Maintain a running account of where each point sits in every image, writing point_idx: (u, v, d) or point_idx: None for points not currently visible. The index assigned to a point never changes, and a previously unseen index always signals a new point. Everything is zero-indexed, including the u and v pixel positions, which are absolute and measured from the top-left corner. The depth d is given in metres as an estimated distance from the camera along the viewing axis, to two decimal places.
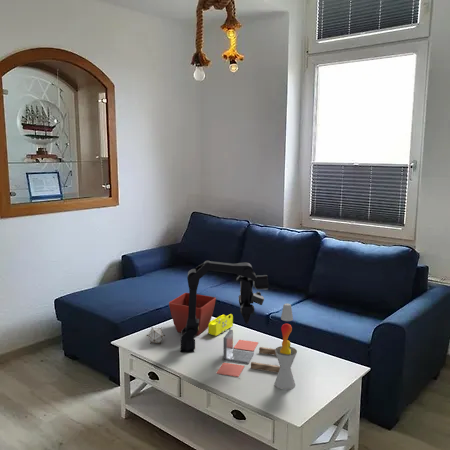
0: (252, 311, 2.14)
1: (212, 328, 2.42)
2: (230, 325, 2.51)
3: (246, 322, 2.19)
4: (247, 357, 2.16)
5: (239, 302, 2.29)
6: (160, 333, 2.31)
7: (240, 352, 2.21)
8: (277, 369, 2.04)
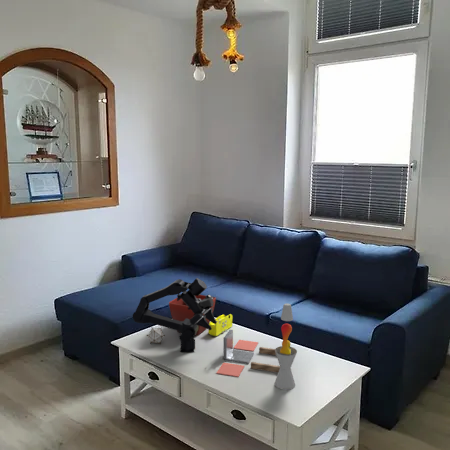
0: (198, 318, 2.11)
1: (212, 328, 2.41)
2: (230, 325, 2.51)
3: (209, 328, 2.16)
4: (247, 357, 2.16)
5: (203, 315, 2.26)
6: (160, 333, 2.31)
7: (240, 352, 2.21)
8: (277, 369, 2.04)
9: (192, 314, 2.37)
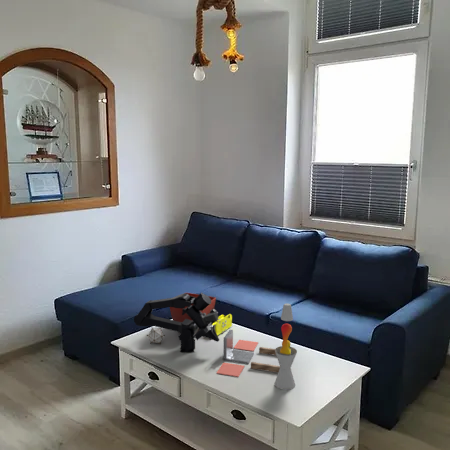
0: (203, 333, 2.11)
1: None
2: (229, 325, 2.51)
3: (216, 340, 2.20)
4: (247, 357, 2.16)
5: None
6: (160, 333, 2.31)
7: (240, 352, 2.21)
8: (277, 369, 2.04)
9: None
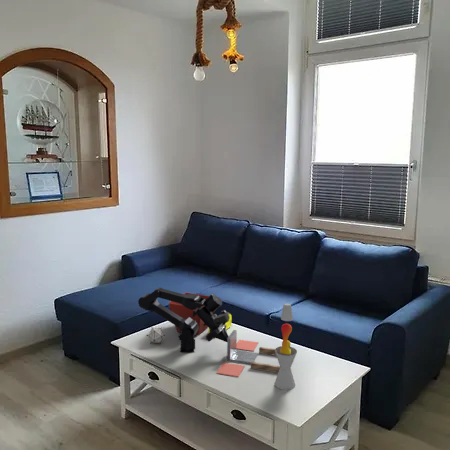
0: (215, 334, 2.10)
1: None
2: (229, 325, 2.52)
3: None
4: (251, 357, 2.15)
5: None
6: (160, 333, 2.31)
7: (244, 352, 2.21)
8: (277, 369, 2.04)
9: (192, 314, 2.37)
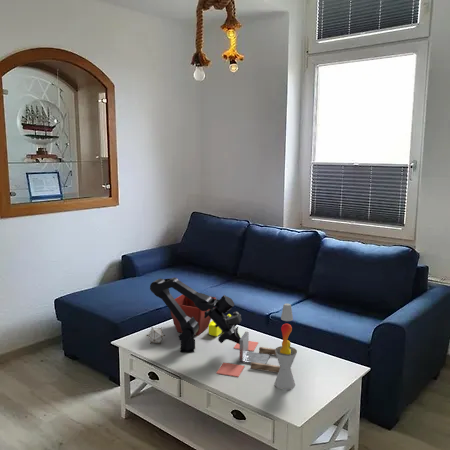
0: (227, 336, 2.08)
1: (212, 329, 2.41)
2: None
3: (239, 343, 2.16)
4: (263, 359, 2.14)
5: None
6: (160, 333, 2.31)
7: (256, 354, 2.19)
8: (277, 369, 2.04)
9: (192, 314, 2.37)
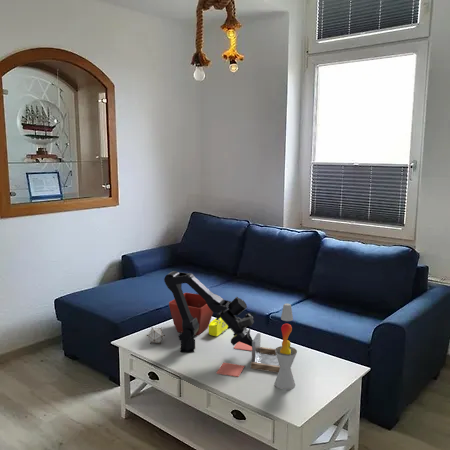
0: (240, 338, 2.06)
1: (213, 329, 2.41)
2: None
3: None
4: (276, 361, 2.12)
5: None
6: (160, 333, 2.31)
7: (268, 356, 2.17)
8: (277, 369, 2.04)
9: (192, 314, 2.37)
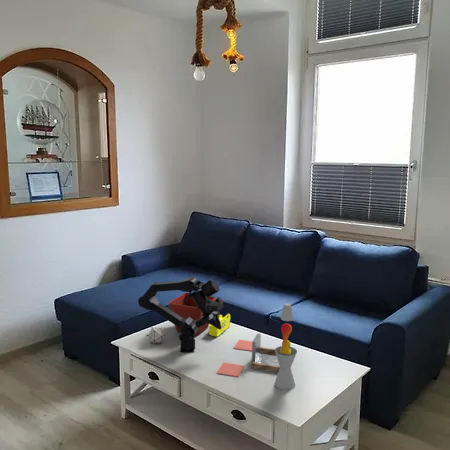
0: (203, 323, 2.11)
1: (213, 329, 2.40)
2: (228, 325, 2.52)
3: (218, 328, 2.19)
4: (276, 361, 2.12)
5: None
6: (160, 333, 2.31)
7: (268, 356, 2.17)
8: (277, 369, 2.04)
9: (192, 314, 2.37)
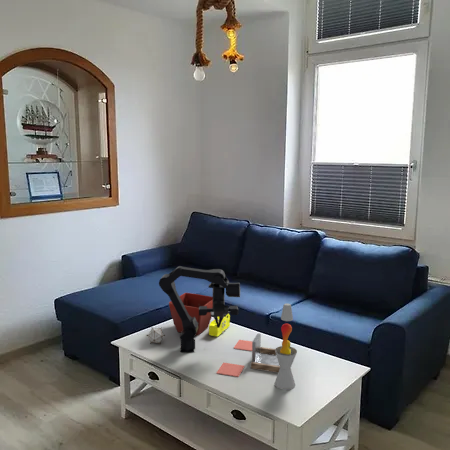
0: None
1: (213, 329, 2.40)
2: (228, 325, 2.52)
3: (217, 325, 2.22)
4: (276, 361, 2.12)
5: None
6: (160, 333, 2.31)
7: (268, 356, 2.17)
8: (277, 369, 2.04)
9: (192, 314, 2.37)
